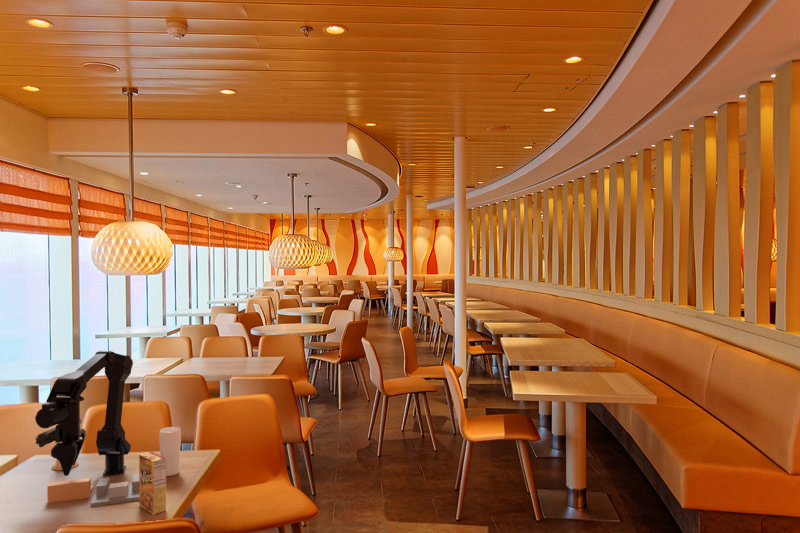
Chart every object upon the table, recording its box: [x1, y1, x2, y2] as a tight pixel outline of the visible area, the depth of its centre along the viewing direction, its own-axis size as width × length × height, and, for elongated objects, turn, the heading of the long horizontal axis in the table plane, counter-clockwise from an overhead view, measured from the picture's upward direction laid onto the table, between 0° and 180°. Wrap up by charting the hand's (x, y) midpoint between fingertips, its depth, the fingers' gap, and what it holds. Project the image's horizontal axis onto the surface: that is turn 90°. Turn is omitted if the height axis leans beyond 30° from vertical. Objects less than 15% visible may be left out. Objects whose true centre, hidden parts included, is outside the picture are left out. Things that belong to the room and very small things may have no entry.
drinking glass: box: [158, 426, 182, 477], centre depth 193 cm, size 7×7×15 cm
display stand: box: [90, 473, 139, 508], centre depth 175 cm, size 12×14×4 cm
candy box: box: [138, 451, 167, 516], centre depth 165 cm, size 9×4×15 cm, turn 50°
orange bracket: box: [46, 477, 94, 504], centre depth 175 cm, size 8×11×5 cm
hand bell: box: [51, 459, 80, 471], centre depth 200 cm, size 8×8×16 cm
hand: (69, 470), depth 173 cm, fingers open, 9 cm apart
